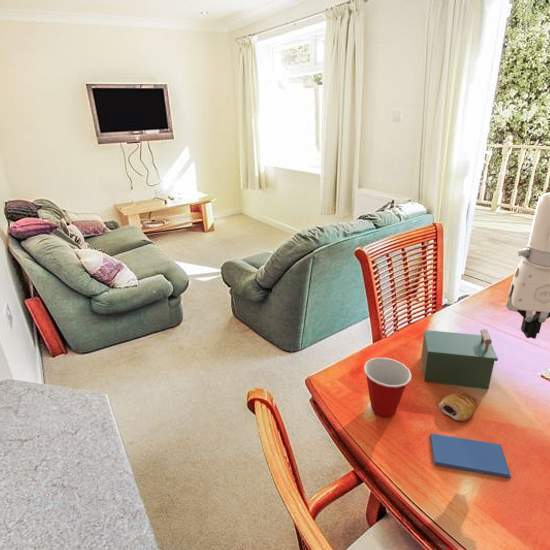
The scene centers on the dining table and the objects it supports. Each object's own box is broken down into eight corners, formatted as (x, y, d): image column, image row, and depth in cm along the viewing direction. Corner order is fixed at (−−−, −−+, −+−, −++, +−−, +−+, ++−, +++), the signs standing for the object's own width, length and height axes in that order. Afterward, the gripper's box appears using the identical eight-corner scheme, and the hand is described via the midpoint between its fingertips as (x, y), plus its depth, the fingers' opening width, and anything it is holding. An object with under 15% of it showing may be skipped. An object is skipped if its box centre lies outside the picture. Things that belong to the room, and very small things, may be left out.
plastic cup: (415, 422, 88) (421, 381, 83) (372, 429, 86) (374, 388, 82) (395, 391, 98) (398, 353, 93) (355, 397, 96) (357, 359, 92)
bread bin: (479, 364, 106) (484, 337, 102) (488, 389, 96) (494, 361, 93) (421, 358, 110) (424, 332, 106) (424, 381, 101) (427, 354, 97)
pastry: (458, 393, 96) (460, 381, 94) (484, 409, 90) (487, 396, 89) (435, 409, 91) (437, 397, 90) (461, 426, 86) (463, 414, 84)
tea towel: (499, 445, 80) (500, 442, 80) (510, 478, 73) (511, 475, 73) (430, 434, 84) (430, 431, 84) (434, 464, 77) (434, 461, 77)
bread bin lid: (487, 338, 102) (490, 324, 100) (497, 361, 93) (500, 346, 91) (424, 332, 106) (425, 318, 105) (427, 354, 97) (429, 339, 95)
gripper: (511, 261, 73) (494, 341, 80) (603, 265, 69) (576, 348, 76) (501, 248, 79) (486, 323, 87) (584, 251, 75) (561, 329, 83)
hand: (528, 334), depth 81 cm, fingers closed
